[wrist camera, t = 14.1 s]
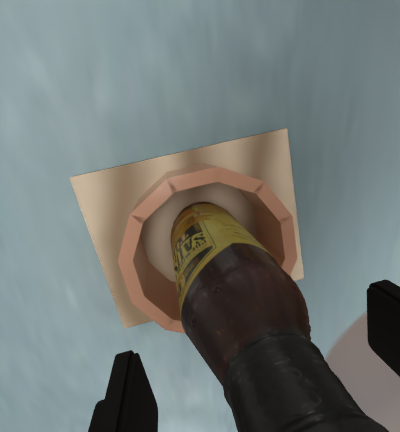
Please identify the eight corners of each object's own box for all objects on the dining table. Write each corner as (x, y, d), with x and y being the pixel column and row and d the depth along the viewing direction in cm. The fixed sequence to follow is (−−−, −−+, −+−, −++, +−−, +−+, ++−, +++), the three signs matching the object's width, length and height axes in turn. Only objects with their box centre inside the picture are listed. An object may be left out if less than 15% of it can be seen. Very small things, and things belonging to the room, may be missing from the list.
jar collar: (254, 151, 23) (284, 150, 17) (273, 275, 26) (303, 309, 21) (113, 184, 22) (95, 195, 16) (152, 308, 25) (149, 353, 20)
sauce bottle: (173, 195, 23) (262, 422, 4) (237, 203, 24) (547, 406, 5) (164, 260, 24) (193, 662, 5) (225, 265, 25) (428, 603, 6)
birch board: (279, 129, 24) (287, 128, 23) (297, 271, 28) (304, 278, 27) (75, 176, 23) (69, 177, 21) (126, 319, 27) (124, 328, 25)
